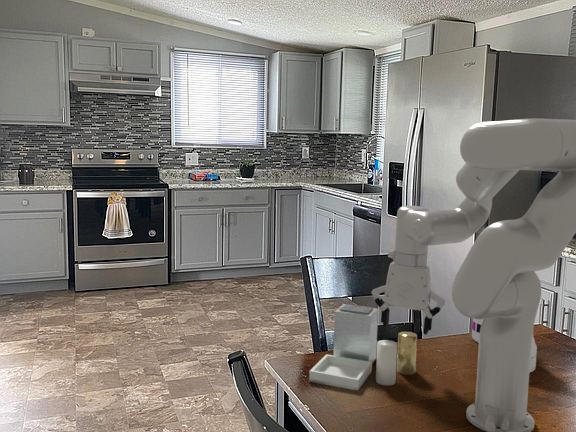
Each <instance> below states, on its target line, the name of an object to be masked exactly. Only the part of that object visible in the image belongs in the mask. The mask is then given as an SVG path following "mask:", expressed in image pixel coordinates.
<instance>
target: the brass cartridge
mask: <svg viewBox="0 0 576 432" xmlns="http://www.w3.org/2000/svg"><path fill="white" fill-rule="evenodd" d="M417 346H418V334H417V333H415V332H412V331H401V332H398V335H397V357H396V373H398V374H401V375H406V376H407V375H408V376H409V375H414V374H416V372H417V371H416V367H417V349H418V347H417Z"/></svg>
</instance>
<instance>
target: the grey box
mask: <svg viewBox="0 0 576 432" xmlns="http://www.w3.org/2000/svg"><path fill="white" fill-rule="evenodd" d="M378 317H379V308H378V307H377V308H376V307H371V306H365V305H364V306H363V305H357V304H350V303H349V304H348V303H343V304H342V305H340V306H339V307H337V309H335V310H334V320H333V321H334V322H333V323H334V324H333V328H334V329H333V355H334V356H340V357H345V358H351V359H357V360H363V361H369V362H372V364H373V363H375V361H377V342H378V319H379V318H378Z"/></svg>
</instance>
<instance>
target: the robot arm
mask: <svg viewBox="0 0 576 432" xmlns="http://www.w3.org/2000/svg"><path fill="white" fill-rule="evenodd" d="M459 150H460V156H461V158H462V159H463V161H464V165H462V166H461V168H460V169H459V170H458V171H457V174H456V175H455V176H456V177H455V182H456V184H457V185H456V186H457V187H458V189H459V190H460V192H461V193H462V194H463V195H464V196H465V198H464V199H463V200H462V201H461V203H460V204H459V205H458V206H457V207H455V208H453V209H439V210H438V209H437V210H429V209H428V207H425V206H419V205H403V206H400V207H399V208H398V209H397V213H396V223H395V224H396V225H395V240H394V250H393V251H388V253H387V254H388V255H387V256H388V257H387V258H391V259H392V261H391V262H390V264H389V267H388V272H387V276H386V283H385V285H381V286H378V287H376V288H373V289H372V290H371V295H372V298H373V299H374V302H375V304H376V305H377V306H378V308H379V310H380V311H381V313H380V314H381V317H380V322H381V323H382V328H387V327H388V325H389V323H390V308H389V307H396V308H399V309H400V308H401V309H408V310H413V311H422V312H423V313H424V314H425V317H424V319H423V320H424V322H423V332H422V333H423V334H424V335H428V333H429V331H432V325H433V317H434V316H436V315H437V314H438V313H440V312H441V310H442V309H443V307H444V306H445V304H446V302H447V301H446V299H445V298H443V297H442V296H440V295H438V294H437V293H435V292H434V291H432V289H431V287H432V286H431V285H432V283H431V280H432V279H431V269H430V265H428V263H427V262H428V251H429V246H439V245H446V244H457V243H462V242H464V241H466V240H468V239H469V238H471V237H473V235H474V234H476V232H478V230H479V229H481V228H482V227H483V226H484V225H485V223H486V222H487V221H488V219H489V217H490V215H491V211H492V207H493V199H494V197H495V196H496V195H497V194H498V193H499V192H500V191H501V190H502V189H503V187H504V186H506V184H508V183H509V181H511V180H512V178H514V177H515V176H516V175H517V174H518V172H519V171H558V172H557V174H556V175H555V176H554V177H553V178H552V179H551V180H550V181H549V182H548V183H547V184H545V186H543V188H542V189H540V191H539V193H537V195H536V197H535V198H534V199H533V203H532V204H531V205H530V207H529V208H528V209H527V211H526V213H525V214H524V215H523V216H522V217H519V218H516V219H507V220H504V219H503V220H499V221H495V222H493V223H491V224H489V225H488V226H486V227H485V228H484V229H483V230H482V231H481V232H480V233H479V235H477V236H476V239H475V241H474V243H473V244H472V246H471V247H470V250H469V251H468V252H467V255H466V257H465V258H464V260H463V262H462V264H461V266H460V267H459V269H458V271H457V273H456V274H455V277H454V280H453V284H452V287H451V298H452V302H453V305H454V307H455V309H456V310H457V311H458V312H459V313H460V314H461V315H462V316H464V317H466V318H469V319H472V320H473V319H483V321H482V324H481V328H480V335H479V343H478V348H477V349H478V351H477V352H478V354H477V365H476V383H475V399H474V402H473V403H472V404H469V405H468V407H467V408H466V411H465V413H466V415H465V416H466V419H467V420H468V422H469V423H470V424H472V425H473V426H474V427H476V428H477V429H479V430H481V431H484V432H533V431H534V428H535V418H533V416H532V415H531V414H530V413H529V412H528V409H527V408H528V396H529V385H530V373H531V372H530V359H531V348H532V336H533V337H534V327H535V321H536V317H537V313H538V309H539V305H540V304H541V303H540V302H541V298H542V285H541V281H540V278H539V276H538V274H537V273H536V272H538V271H542V270H543V271H544V270H546V269H549V268H551V267H552V266H553V265H555V264H556V262H558V260H559V258H560V257H561V255H562V254H563V252H564V251H565V249H566V248H567V247H568V245H569V243H570V242H571V240H572V239H573V237H574V236H575V235H576V119H561V118H560V119H559V118H556V119H555V118H543V117H542V118H540V117H539V118H534V117H533V118H519V119H508V120H507V119H506V120H494V121H491V120H490V121H480V122H477V123H475V124H473V125H471V126H470V127H469V128H468V129H467V130H466V131H465V133H464V134H463V135H462V138H461V141H460V144H459ZM382 293H384V300H383V299H382V297H381V295H380V294H382ZM431 300H433V301H434V302H435V303H436V304H437V305H436V306H435V307H434V308H432V307H431V306H430V303H431Z"/></svg>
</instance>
